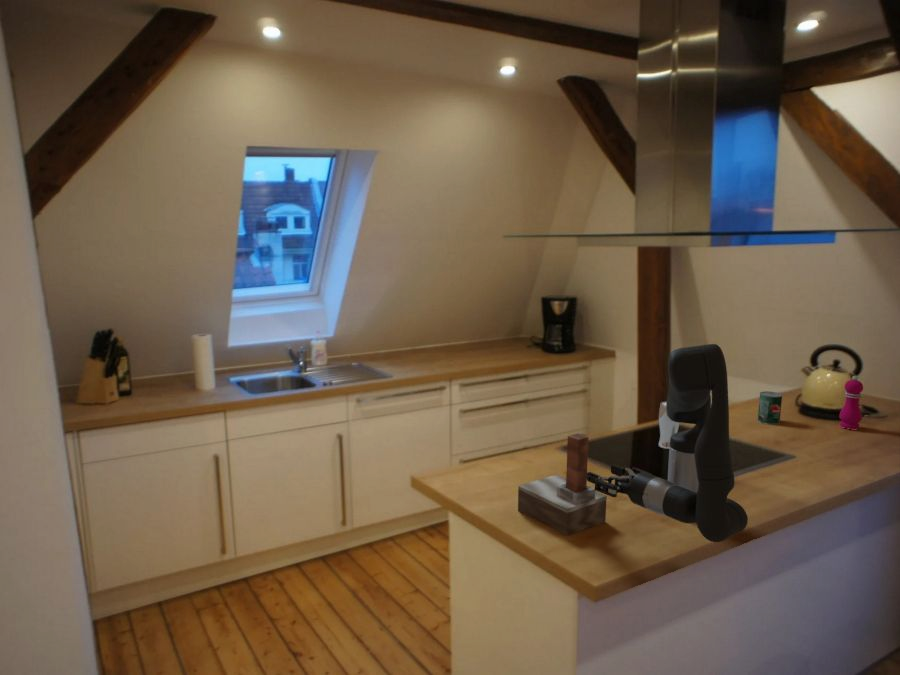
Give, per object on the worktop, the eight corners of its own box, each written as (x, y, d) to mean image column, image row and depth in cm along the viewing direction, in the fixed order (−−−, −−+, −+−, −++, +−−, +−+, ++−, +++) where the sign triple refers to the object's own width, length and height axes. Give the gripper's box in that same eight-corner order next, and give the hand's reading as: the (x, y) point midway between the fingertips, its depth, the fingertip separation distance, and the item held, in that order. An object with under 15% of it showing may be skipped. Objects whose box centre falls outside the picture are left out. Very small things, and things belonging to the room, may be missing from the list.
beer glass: (678, 450, 227) (680, 407, 225) (656, 448, 230) (659, 405, 227) (678, 444, 234) (681, 402, 231) (657, 442, 236) (660, 400, 234)
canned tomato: (778, 425, 256) (780, 397, 254) (755, 422, 260) (758, 394, 258) (781, 420, 262) (783, 393, 261) (759, 417, 267) (761, 390, 265)
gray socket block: (555, 498, 188) (556, 465, 186) (605, 521, 173) (607, 486, 172) (517, 510, 180) (518, 476, 178) (566, 535, 165) (567, 499, 164)
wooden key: (575, 493, 174) (577, 433, 171) (586, 497, 171) (588, 437, 168) (565, 496, 172) (567, 435, 169) (575, 501, 169) (578, 439, 166)
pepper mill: (833, 425, 257) (839, 374, 253) (851, 424, 257) (857, 373, 254) (847, 431, 250) (852, 378, 246) (865, 430, 250) (871, 378, 247)
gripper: (675, 471, 154) (620, 451, 167) (635, 485, 146) (579, 463, 159) (673, 502, 155) (618, 480, 168) (633, 517, 147) (578, 493, 160)
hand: (599, 472), depth 164 cm, fingers open, 8 cm apart
